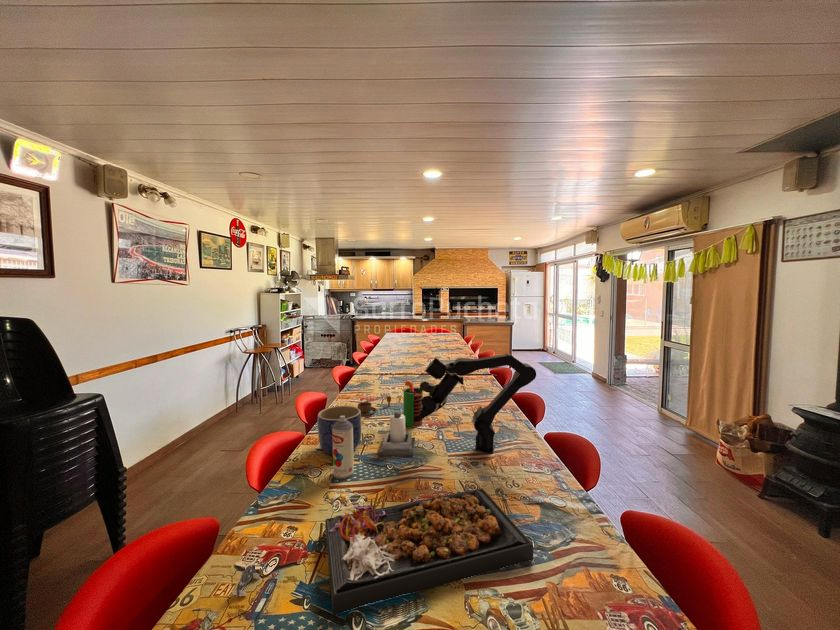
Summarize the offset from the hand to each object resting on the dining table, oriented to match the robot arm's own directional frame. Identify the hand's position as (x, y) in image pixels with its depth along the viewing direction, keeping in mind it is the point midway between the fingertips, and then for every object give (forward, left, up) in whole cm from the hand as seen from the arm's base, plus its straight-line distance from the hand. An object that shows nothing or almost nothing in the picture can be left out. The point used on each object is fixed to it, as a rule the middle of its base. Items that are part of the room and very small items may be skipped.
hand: (422, 417), depth 140 cm
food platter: (-17, +51, -13) cm, 55 cm away
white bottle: (+9, +3, -11) cm, 14 cm away
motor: (+12, -23, -12) cm, 29 cm away
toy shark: (+15, +70, -13) cm, 73 cm away
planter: (+30, +11, -12) cm, 34 cm away
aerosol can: (+19, +27, -12) cm, 35 cm away
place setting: (+37, -32, -13) cm, 51 cm away
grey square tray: (+9, +3, -12) cm, 16 cm away
